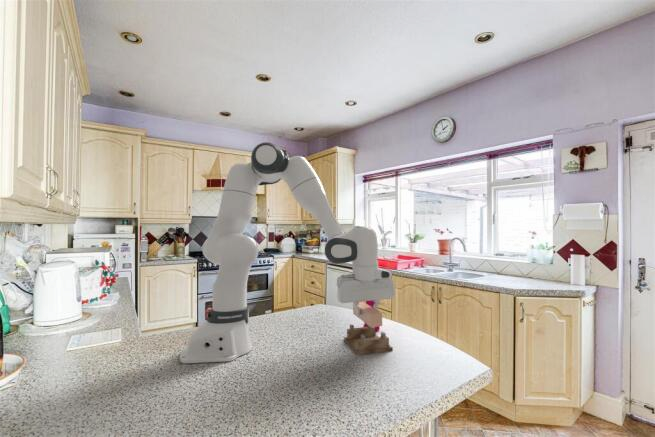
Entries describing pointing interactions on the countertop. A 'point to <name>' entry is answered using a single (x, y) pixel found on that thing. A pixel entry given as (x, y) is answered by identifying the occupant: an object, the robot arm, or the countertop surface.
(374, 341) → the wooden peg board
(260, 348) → the countertop surface
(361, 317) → the peach rectangular block
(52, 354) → the countertop surface
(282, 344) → the countertop surface
